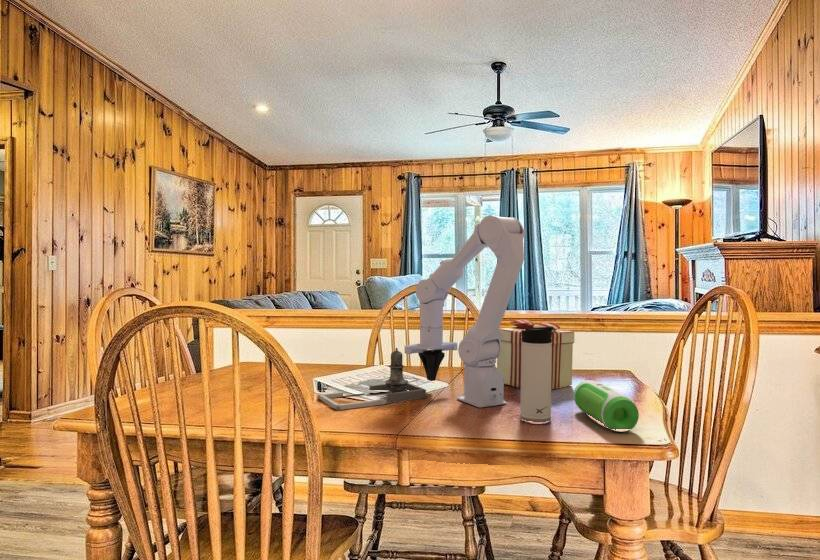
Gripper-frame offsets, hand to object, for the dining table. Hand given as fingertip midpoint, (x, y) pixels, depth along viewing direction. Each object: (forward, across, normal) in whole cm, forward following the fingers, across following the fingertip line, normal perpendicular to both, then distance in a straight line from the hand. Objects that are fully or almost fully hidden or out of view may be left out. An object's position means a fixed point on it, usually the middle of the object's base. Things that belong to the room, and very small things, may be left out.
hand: (431, 380), depth 147 cm
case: (+3, +10, 0) cm, 10 cm away
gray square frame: (+3, +22, 0) cm, 22 cm away
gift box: (+3, -30, +5) cm, 31 cm away
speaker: (+3, -18, +40) cm, 44 cm away
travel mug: (+3, -6, +33) cm, 34 cm away
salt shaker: (+3, +10, 0) cm, 10 cm away
